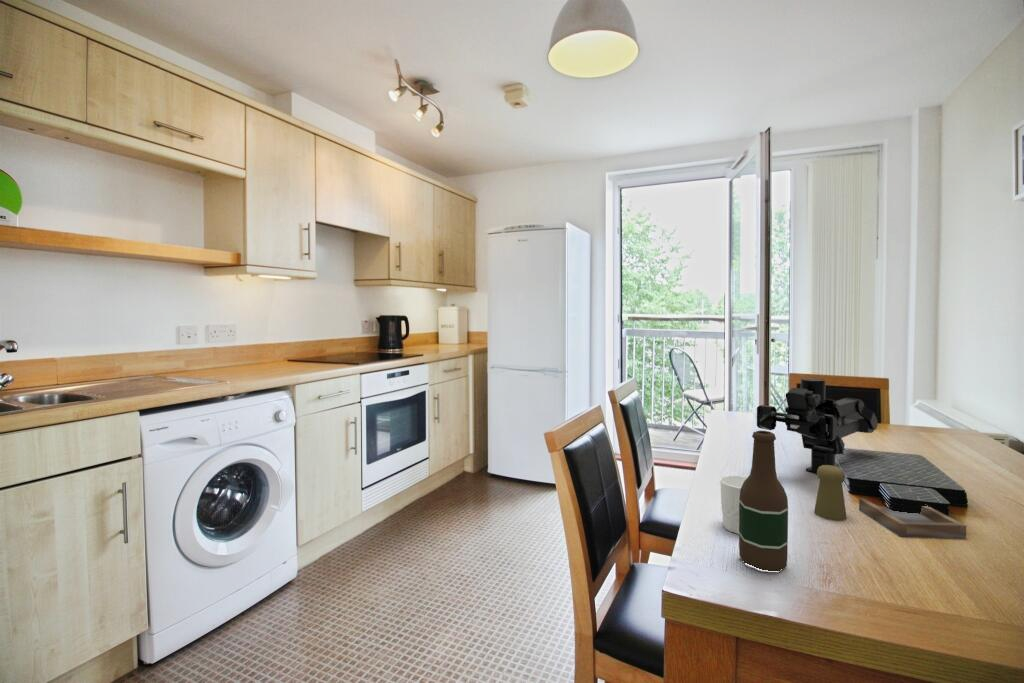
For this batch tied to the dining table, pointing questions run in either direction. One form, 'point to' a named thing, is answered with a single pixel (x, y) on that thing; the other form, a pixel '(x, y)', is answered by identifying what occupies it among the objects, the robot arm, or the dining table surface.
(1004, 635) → the dining table surface
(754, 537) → the beer bottle
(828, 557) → the dining table surface
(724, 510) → the white cup
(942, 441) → the dining table surface
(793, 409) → the robot arm
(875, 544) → the dining table surface
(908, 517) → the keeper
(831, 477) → the cork
